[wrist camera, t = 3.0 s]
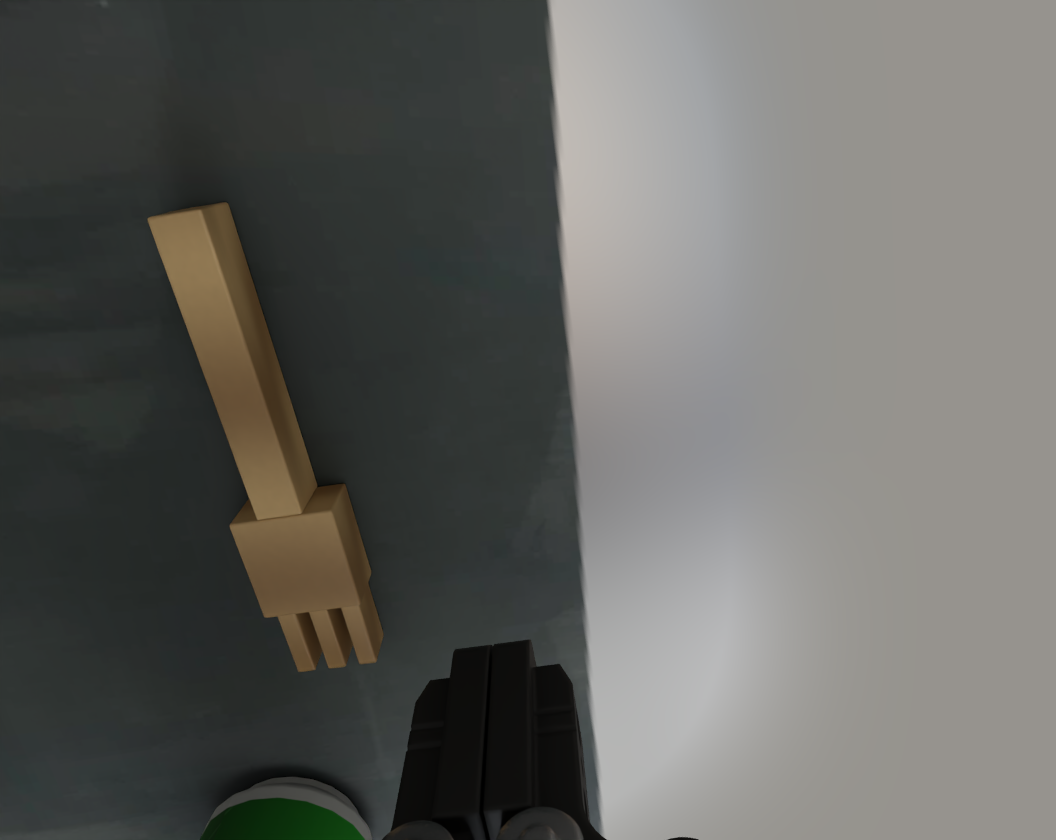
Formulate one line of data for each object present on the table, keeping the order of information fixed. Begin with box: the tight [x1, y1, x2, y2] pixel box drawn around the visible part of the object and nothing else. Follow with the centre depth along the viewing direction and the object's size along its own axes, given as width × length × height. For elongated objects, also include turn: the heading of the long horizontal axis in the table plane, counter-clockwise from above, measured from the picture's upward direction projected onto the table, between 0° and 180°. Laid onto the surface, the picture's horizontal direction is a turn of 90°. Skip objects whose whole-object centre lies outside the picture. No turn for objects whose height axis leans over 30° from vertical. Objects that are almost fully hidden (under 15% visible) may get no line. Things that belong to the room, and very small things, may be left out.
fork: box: [148, 202, 384, 672], centre depth 23 cm, size 17×4×2 cm, turn 9°
